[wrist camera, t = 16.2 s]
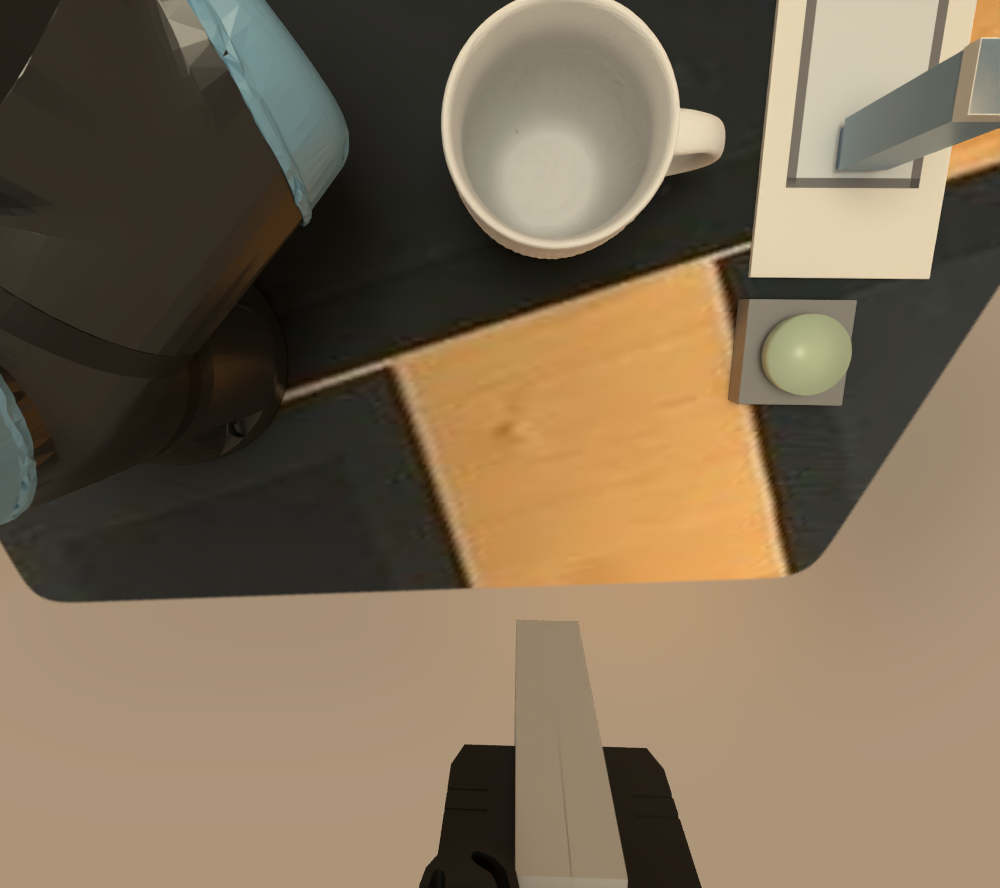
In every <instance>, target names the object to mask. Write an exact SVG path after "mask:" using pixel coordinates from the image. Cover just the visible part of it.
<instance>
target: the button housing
mask: <svg viewBox="0 0 1000 888" xmlns="http://www.w3.org/2000/svg"><path fill="white" fill-rule="evenodd" d="M856 303H857V300H771V299H744V300H738V308H737V318H736V328H735V338H734V348H733V358H732V368H731V378H730V387H729V397H728V400H731V401H733V402H735V403H738V404H779V405H842V399H843V392H844V385H845V378H846V372H847V371H846V372H845V374H844V375H843V377H842V378H841V379H840V380H839V381H838V382H837V383H836V384H835V385H834V386H833V387H831V388H830V389H828V390H826V391H824V392H822V393H819V394H816V395H809V396H802V395H796V394H792V393H789V392H786V391H783V390H781V389H779V388H777V387H776V386H775V385H773V384H772V383H771V382H770V381H769V379H768V378H767V376H766V375H765V373H764V370H763V366H762V359H761V358H762V349H763V346H764V343H765V341H766V338H767V337H768V335H769V333H770V332H771V331H772V330H773V329H774V328H775V327H776V326H777V325H778V324H779V323H780V322H782V321H783V320H785V319H787V318H789V317H792V316H795V315H799V314H821V315H826V316H829V317H831V318H833V319H835V320H837V321H838V322H839V323H840V324H841V325H842V326H843V327H844V328H845V329H846V331H847V333H848V335H849V337H850V340H851V337H852V330H853V324H854V317H855V310H856Z"/></svg>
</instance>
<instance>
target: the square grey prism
mask: <svg viewBox="0 0 1000 888" xmlns="http://www.w3.org/2000/svg"><path fill="white" fill-rule="evenodd" d="M998 128H1000V38H980V39H978V40H976V41H974V42H973V43H971V44H969V45H968V46H966V47H964V50H962V51H960V52H959V53H957V54H955V55H954V56H952V57H950V58H948V59H947V60H945V61H943V62H942V63H940V64H938V65H936V66H935V67H933V68H931V69H930V70H928V71H926V72H924V73H923V74H921V75H919V76H917V77H916V78H914V79H912V80H911V81H909V82H907V83H905V84H904V85H902V86H900V87H899V88H897V89H895V90H893V91H892V92H890V93H888V94H887V95H885V96H883V97H881V98H880V99H878V100H876V101H875V102H873V103H871V104H869V105H868V106H866V107H864V108H863V109H861V110H859V111H857V112H856V113H854V114H852V115H851V116H849V117H847V118H845V125H844V127H843V128H841V131H840V139H839V147H838V154H837V162H836V169H839V170H889V169H892V168H894V167H897V166H900V165H902V164H905V163H908V162H910V161H913V160H915V159H918V158H921V157H923V156H926V155H929V154H931V153H934V152H937V151H939V150H942V149H945V148H947V147H950V146H953V145H955V144H958V143H961V142H963V141H966V140H969V139H971V138H974V137H976V136H979V135H982V134H984V133H987V132H990V131H992V130H995V129H998Z"/></svg>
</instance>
